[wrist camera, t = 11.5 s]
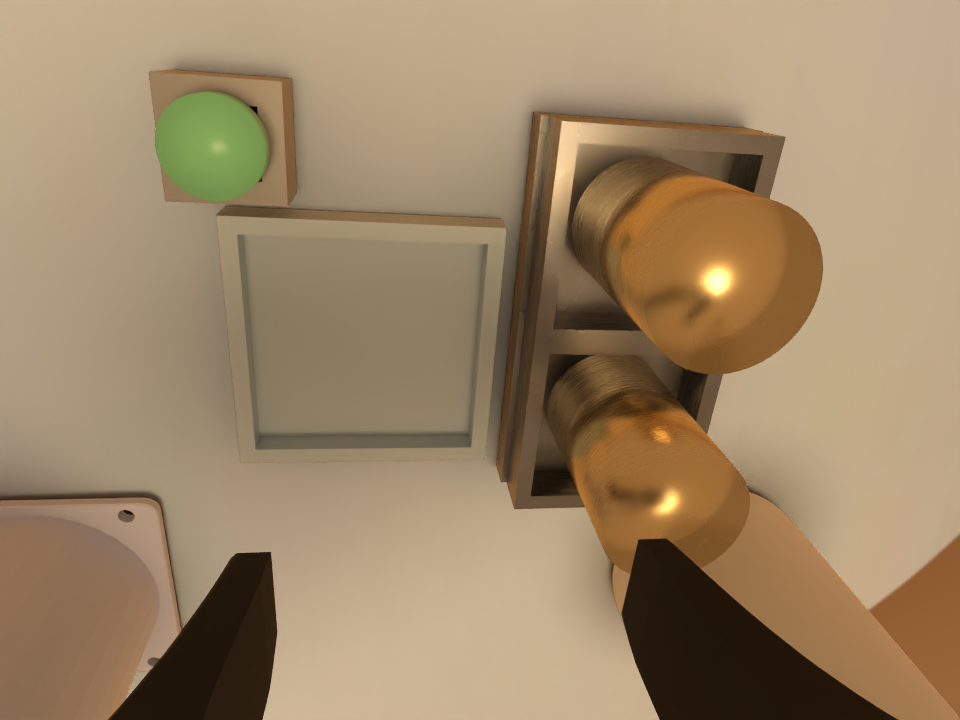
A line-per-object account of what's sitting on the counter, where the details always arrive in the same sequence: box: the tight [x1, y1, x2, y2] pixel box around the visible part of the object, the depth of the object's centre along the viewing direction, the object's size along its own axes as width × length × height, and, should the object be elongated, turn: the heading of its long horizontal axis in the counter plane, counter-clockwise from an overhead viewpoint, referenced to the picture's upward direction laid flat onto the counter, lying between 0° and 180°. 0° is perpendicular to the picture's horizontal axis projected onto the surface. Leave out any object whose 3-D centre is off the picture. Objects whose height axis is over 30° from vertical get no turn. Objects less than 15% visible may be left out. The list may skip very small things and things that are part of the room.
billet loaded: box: [547, 355, 750, 574], centre depth 19 cm, size 4×4×6 cm
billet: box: [572, 156, 823, 374], centre depth 17 cm, size 4×4×6 cm
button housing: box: [149, 70, 297, 207], centre depth 17 cm, size 3×3×2 cm
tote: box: [216, 206, 507, 463], centre depth 20 cm, size 8×8×1 cm
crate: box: [497, 112, 785, 509], centre depth 20 cm, size 7×12×2 cm, turn 176°
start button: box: [155, 91, 270, 202], centre depth 16 cm, size 2×2×3 cm
